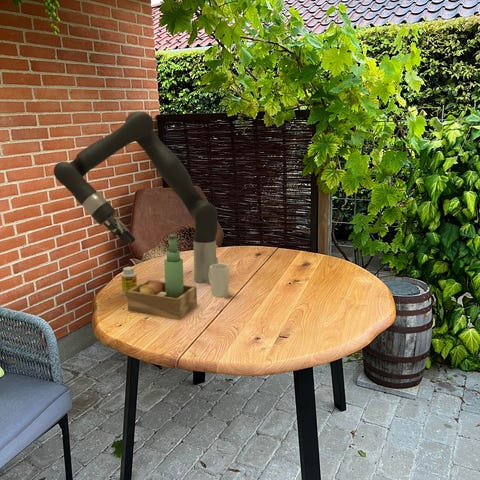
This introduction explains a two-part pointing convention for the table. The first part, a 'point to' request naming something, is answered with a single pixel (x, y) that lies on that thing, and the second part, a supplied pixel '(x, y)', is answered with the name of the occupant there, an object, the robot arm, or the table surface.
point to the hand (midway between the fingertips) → (131, 242)
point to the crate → (160, 300)
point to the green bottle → (173, 270)
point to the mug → (219, 279)
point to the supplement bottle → (128, 279)
